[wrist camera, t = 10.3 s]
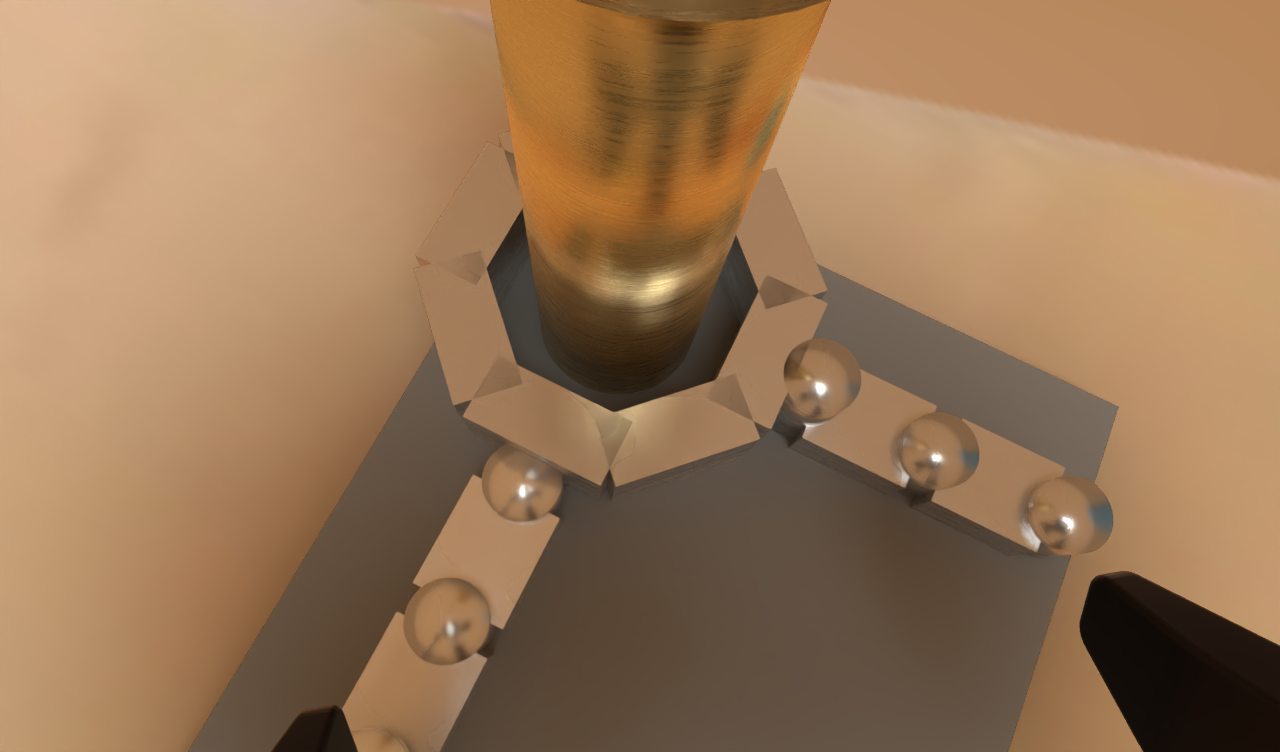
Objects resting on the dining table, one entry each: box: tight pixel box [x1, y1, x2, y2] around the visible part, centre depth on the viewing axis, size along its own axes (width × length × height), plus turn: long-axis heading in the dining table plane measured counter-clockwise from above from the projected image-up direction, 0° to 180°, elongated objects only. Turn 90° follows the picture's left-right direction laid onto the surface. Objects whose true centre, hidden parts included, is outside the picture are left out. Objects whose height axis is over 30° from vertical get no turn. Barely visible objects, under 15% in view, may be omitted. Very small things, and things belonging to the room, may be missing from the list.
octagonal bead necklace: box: [342, 131, 1113, 752], centre depth 16 cm, size 17×15×2 cm
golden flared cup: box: [490, 0, 831, 394], centre depth 12 cm, size 5×5×14 cm
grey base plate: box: [188, 257, 1118, 752], centre depth 18 cm, size 17×15×1 cm
